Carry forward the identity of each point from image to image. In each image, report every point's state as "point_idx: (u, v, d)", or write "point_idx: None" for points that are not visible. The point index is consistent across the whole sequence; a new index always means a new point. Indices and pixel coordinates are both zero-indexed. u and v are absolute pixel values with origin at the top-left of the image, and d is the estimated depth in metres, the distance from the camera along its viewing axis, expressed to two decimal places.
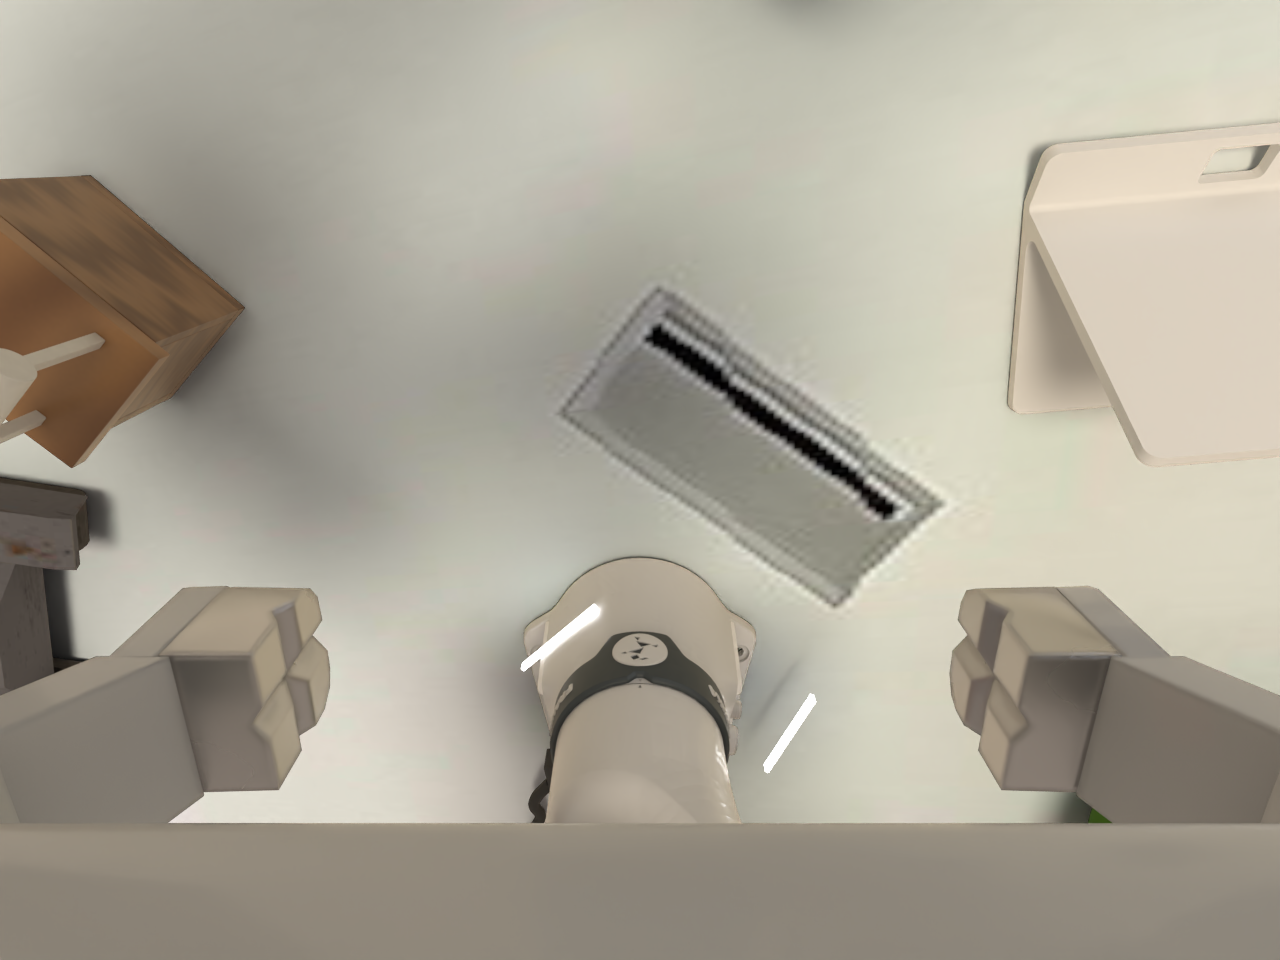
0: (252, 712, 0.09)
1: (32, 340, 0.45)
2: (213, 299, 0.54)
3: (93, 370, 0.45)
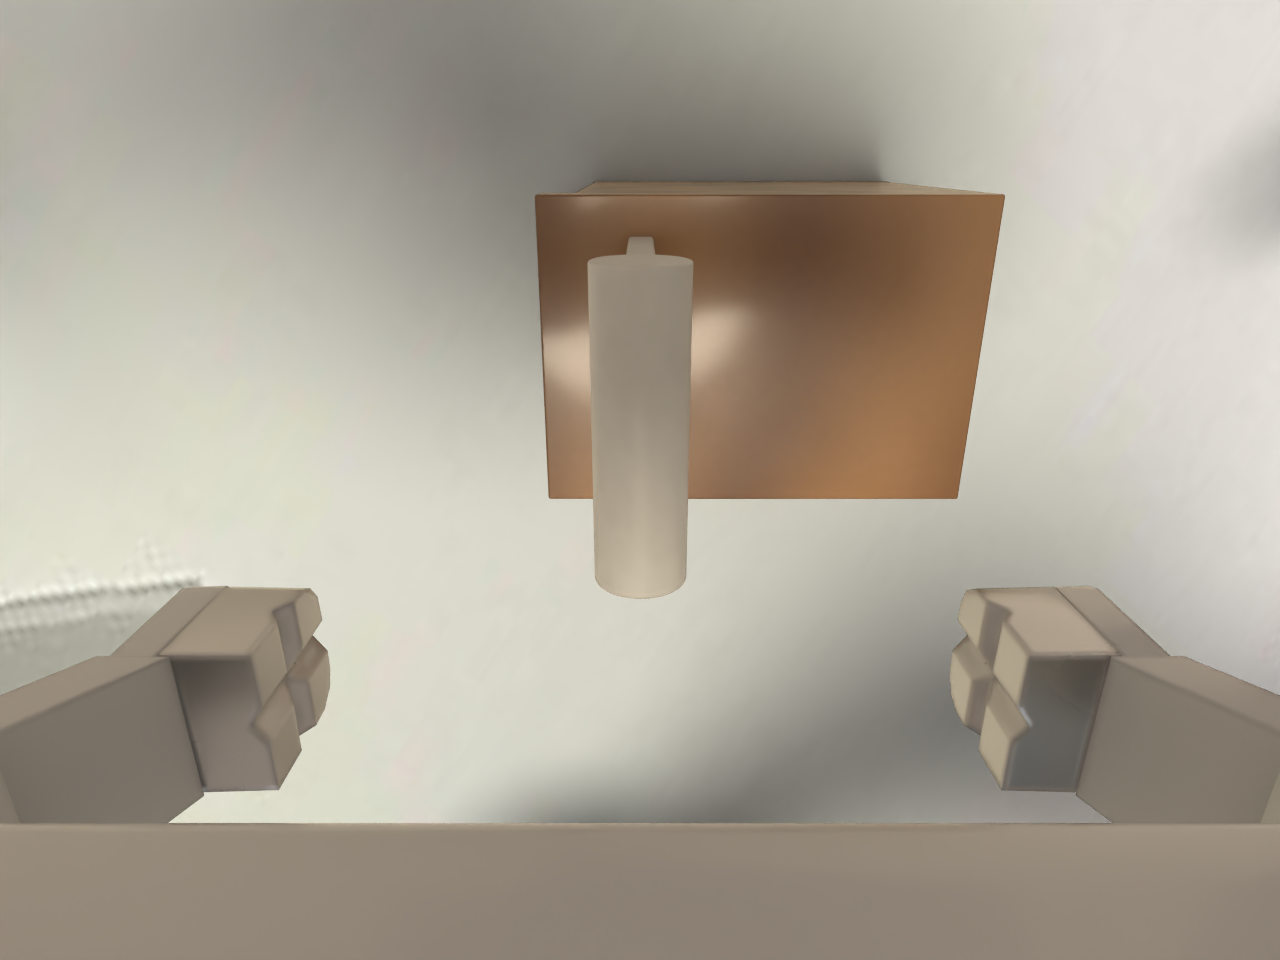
0: (253, 712, 0.09)
1: (724, 377, 0.24)
2: None
3: None
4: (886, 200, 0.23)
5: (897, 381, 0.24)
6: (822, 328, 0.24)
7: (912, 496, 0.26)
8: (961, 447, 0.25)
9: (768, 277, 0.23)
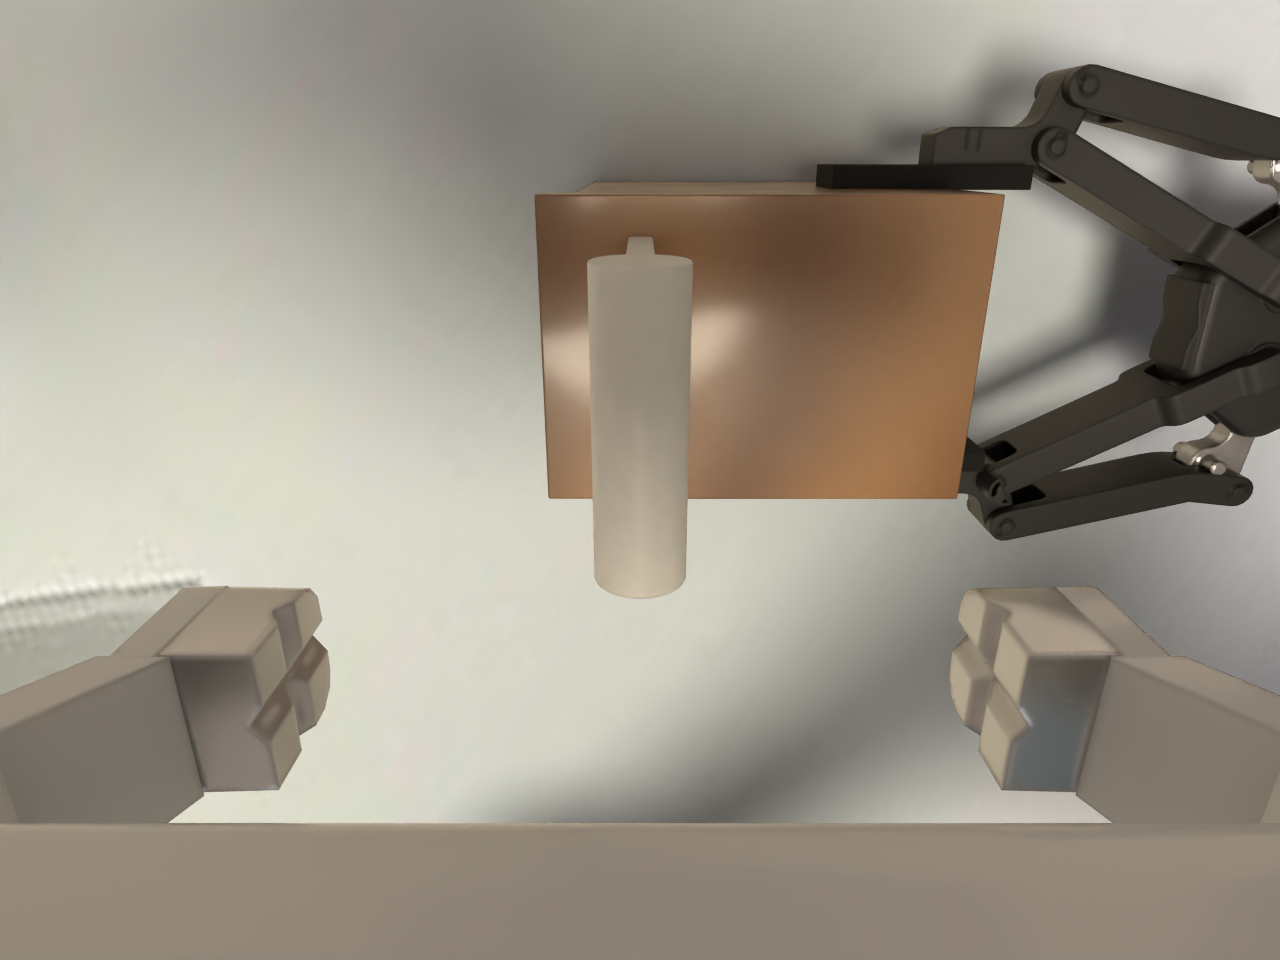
0: (253, 712, 0.09)
1: (724, 377, 0.24)
2: None
3: None
4: (886, 200, 0.23)
5: (897, 382, 0.24)
6: (822, 328, 0.24)
7: (911, 496, 0.26)
8: (961, 447, 0.25)
9: (768, 277, 0.23)
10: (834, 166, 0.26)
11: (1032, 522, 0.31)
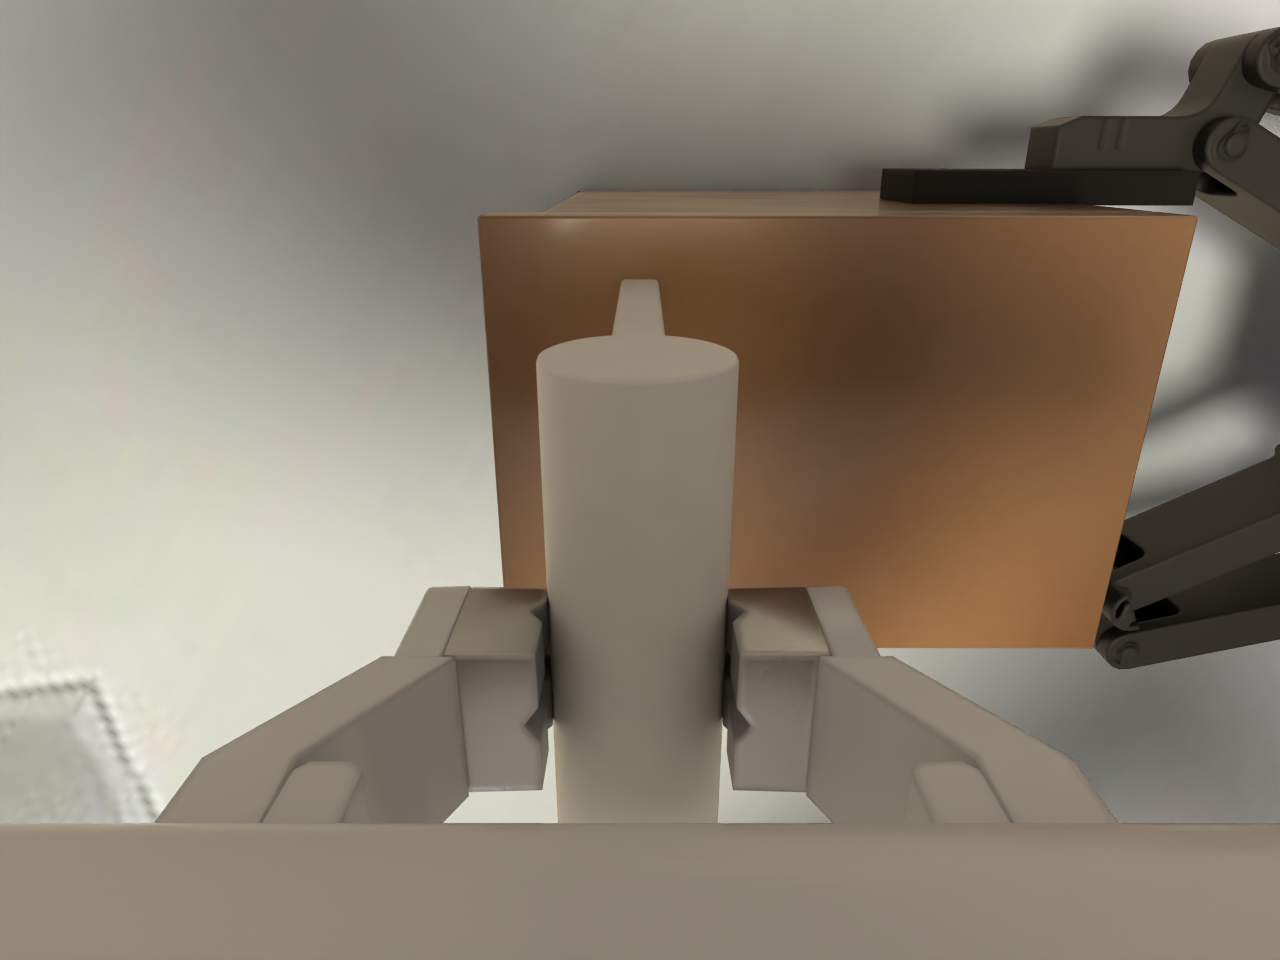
0: (527, 712, 0.09)
1: (762, 482, 0.17)
2: None
3: None
4: (1015, 225, 0.15)
5: (1017, 489, 0.17)
6: (909, 413, 0.16)
7: (1028, 645, 0.18)
8: (1104, 579, 0.17)
9: (831, 339, 0.16)
10: (915, 172, 0.18)
11: (1163, 646, 0.23)
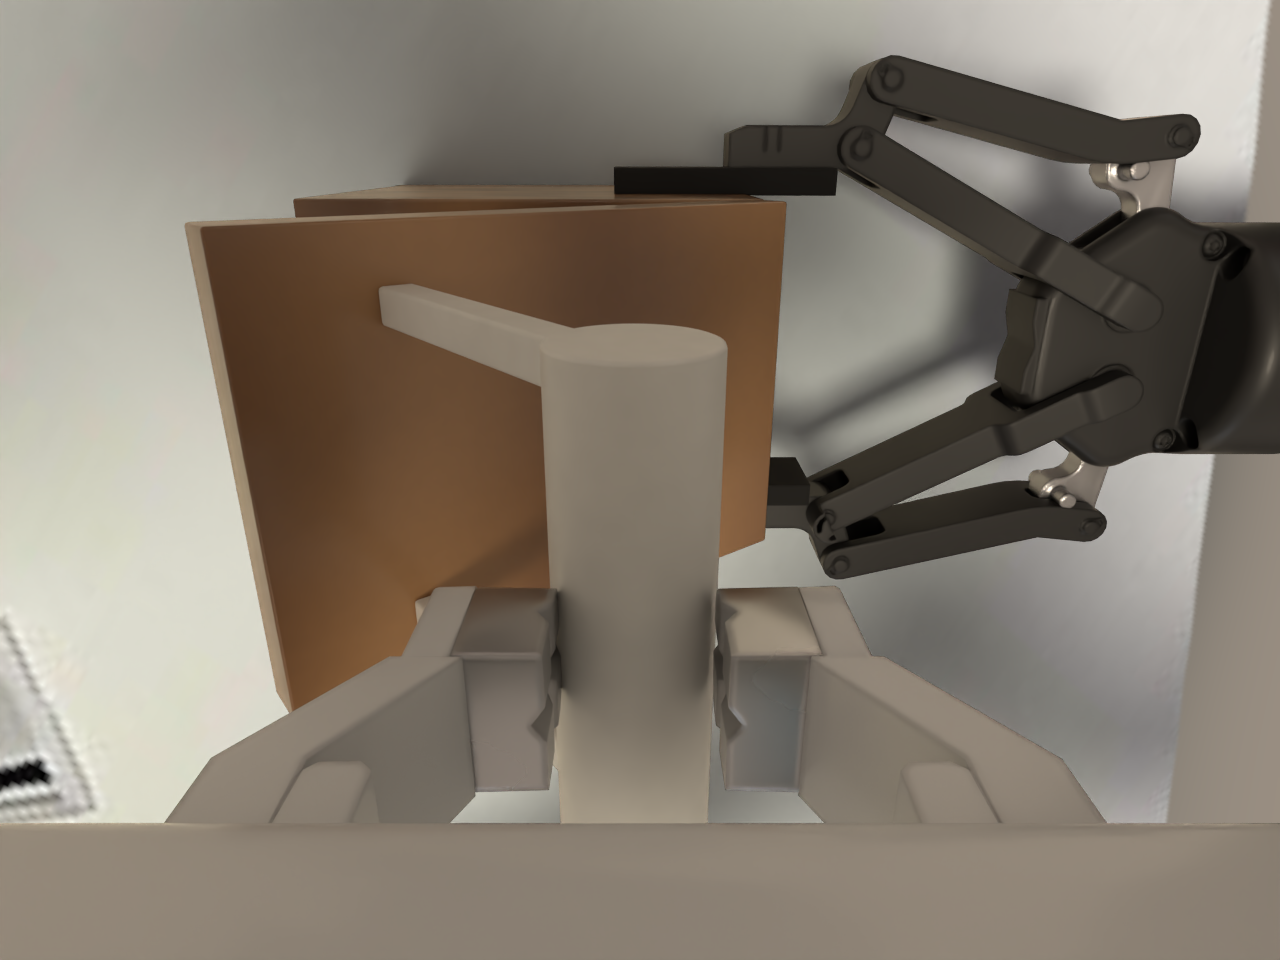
0: (535, 712, 0.09)
1: (529, 468, 0.17)
2: None
3: (388, 548, 0.16)
4: (685, 213, 0.18)
5: None
6: None
7: (728, 551, 0.22)
8: (765, 484, 0.23)
9: (569, 324, 0.17)
10: (614, 169, 0.23)
11: (868, 560, 0.28)
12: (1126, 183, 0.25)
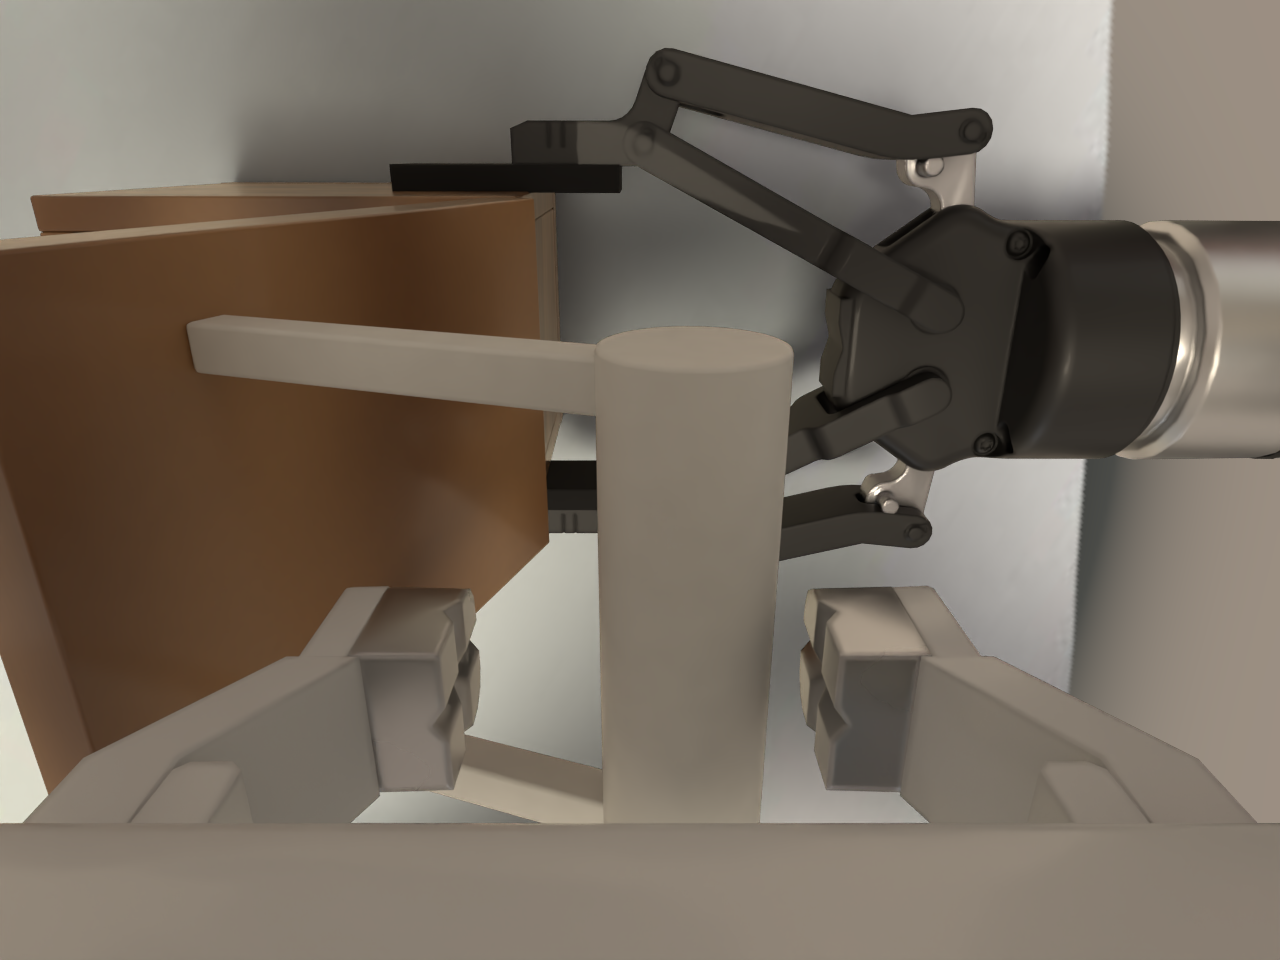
0: (435, 712, 0.09)
1: (360, 519, 0.15)
2: None
3: (230, 658, 0.12)
4: (461, 213, 0.17)
5: (500, 439, 0.19)
6: (439, 400, 0.17)
7: (526, 562, 0.22)
8: (544, 486, 0.22)
9: None
10: (390, 165, 0.23)
11: None
12: (927, 179, 0.24)
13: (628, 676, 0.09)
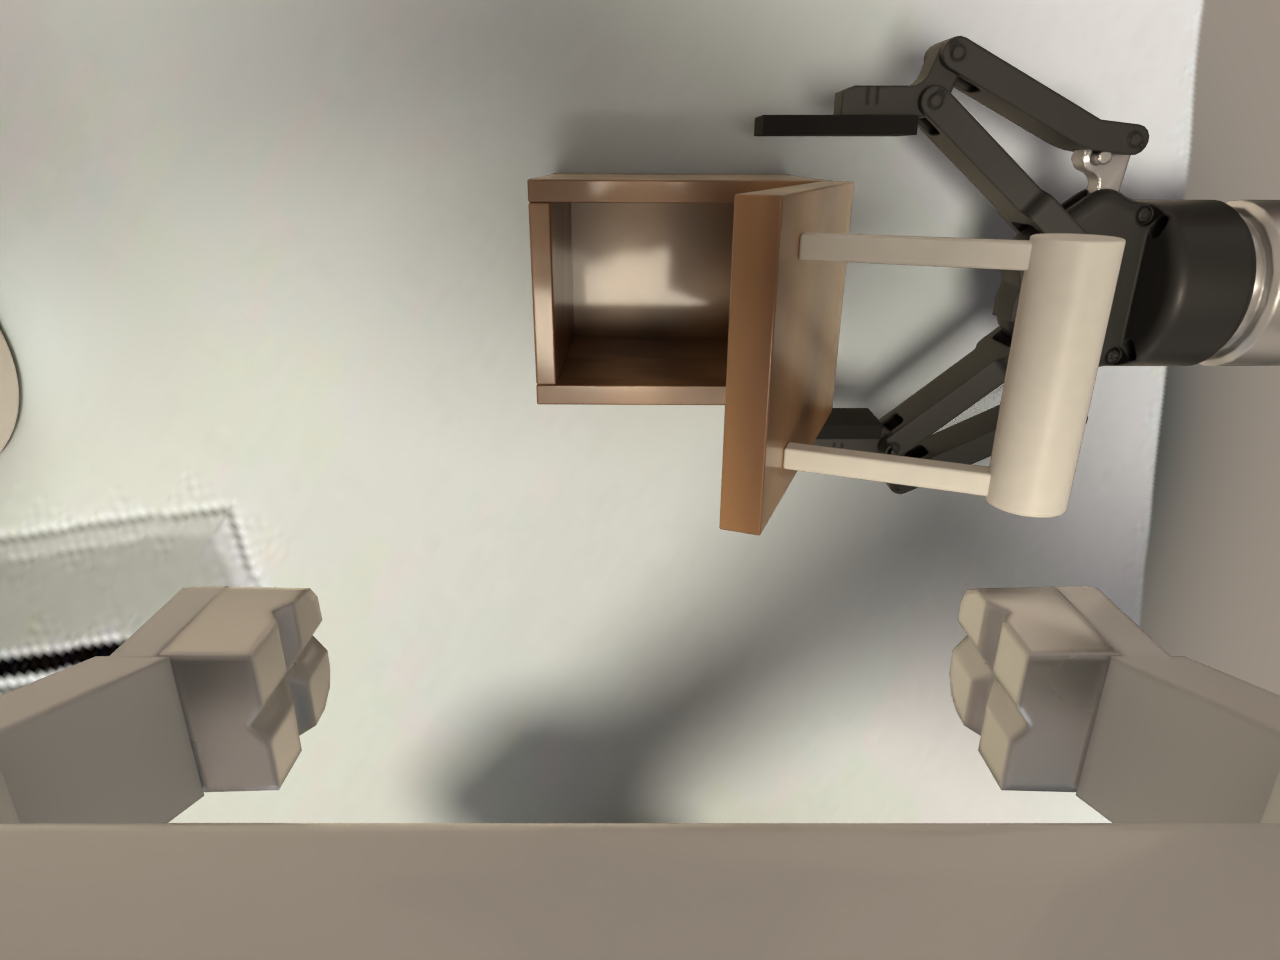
0: (251, 712, 0.09)
1: (807, 357, 0.26)
2: None
3: (784, 410, 0.24)
4: (840, 188, 0.28)
5: (831, 331, 0.31)
6: (825, 298, 0.28)
7: (826, 418, 0.33)
8: (834, 372, 0.34)
9: None
10: (763, 116, 0.34)
11: None
12: (1094, 166, 0.35)
13: (1034, 389, 0.21)
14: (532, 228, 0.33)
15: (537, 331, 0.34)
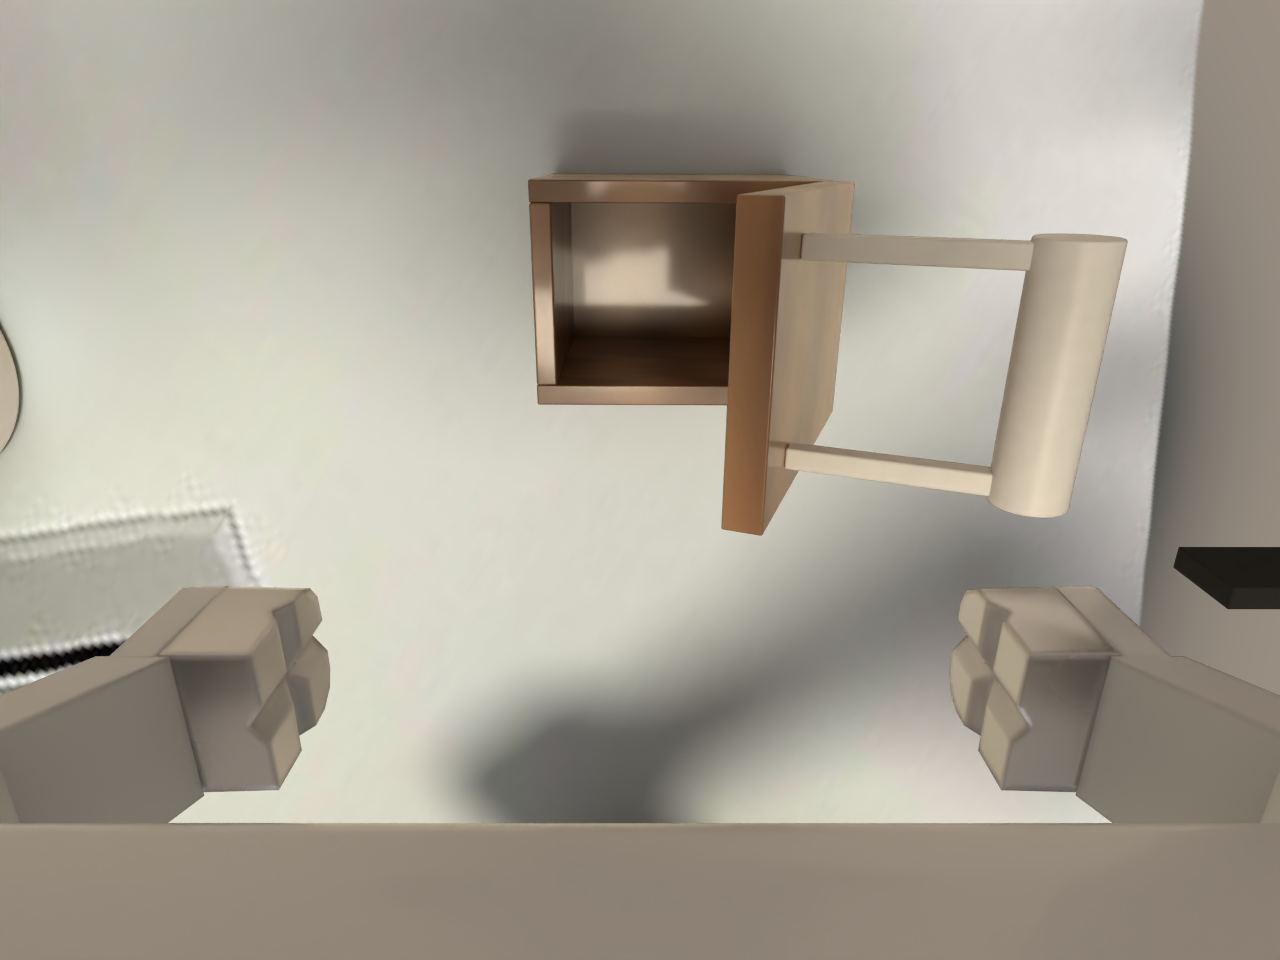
0: (252, 712, 0.09)
1: (808, 357, 0.26)
2: None
3: (785, 411, 0.24)
4: (841, 188, 0.28)
5: (832, 331, 0.31)
6: (826, 298, 0.28)
7: (827, 418, 0.33)
8: (835, 372, 0.34)
9: (822, 260, 0.26)
10: None
11: None
12: None
13: (1036, 389, 0.21)
14: (533, 228, 0.33)
15: (538, 331, 0.34)
